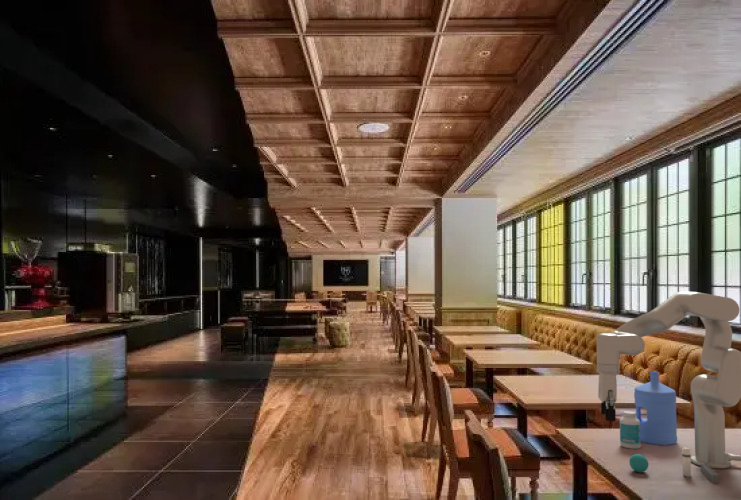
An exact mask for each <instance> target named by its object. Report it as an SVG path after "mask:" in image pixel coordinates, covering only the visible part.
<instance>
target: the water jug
mask: <svg viewBox="0 0 741 500" xmlns="http://www.w3.org/2000/svg"><path fill="white" fill-rule="evenodd" d="M649 373H650V375H649V377H650V379H649V380H650V381H649V382H646V383H642V384H640V385H639V386H636V387H635V388H634V394H633V395H634V397H633V398H634V405H635V413H636V418H637V419H639V421H640V443H643V444H648V445H655V446H672V445H675V444H677V443H678V436H677V434H678V432H677V428H678V427H677V421H678V419H677V418H678V417H677V393H676V390H674V389H673V388H670V387H669V386H667V385H665V384H663V383H661V382H660V380H659V378H660V377H659V371H655V370H654V371H650V372H649ZM641 408H643V409H645V410H646V418H642V411H641Z"/></svg>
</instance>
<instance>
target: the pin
mask: <svg viewBox="0 0 741 500" xmlns="http://www.w3.org/2000/svg"><path fill="white" fill-rule="evenodd" d="M681 452H682V453H681V456H682V476H683V477H688V478H689V477H692V473H691V472H692V471H691V470H692V467H691V457H692V455H691V448H690V447H682V448H681Z"/></svg>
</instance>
